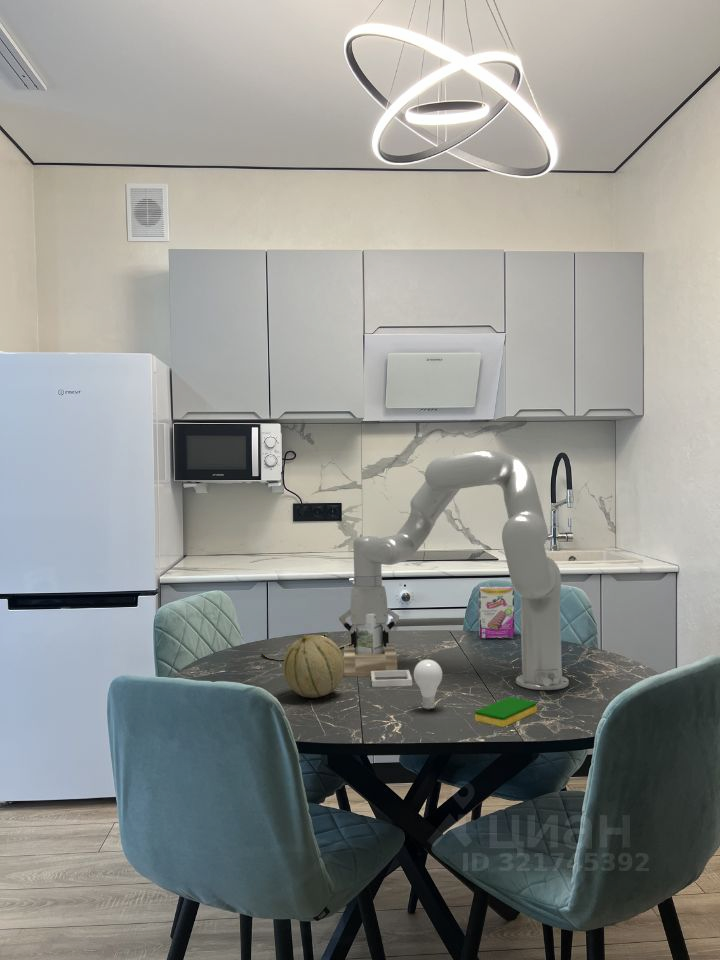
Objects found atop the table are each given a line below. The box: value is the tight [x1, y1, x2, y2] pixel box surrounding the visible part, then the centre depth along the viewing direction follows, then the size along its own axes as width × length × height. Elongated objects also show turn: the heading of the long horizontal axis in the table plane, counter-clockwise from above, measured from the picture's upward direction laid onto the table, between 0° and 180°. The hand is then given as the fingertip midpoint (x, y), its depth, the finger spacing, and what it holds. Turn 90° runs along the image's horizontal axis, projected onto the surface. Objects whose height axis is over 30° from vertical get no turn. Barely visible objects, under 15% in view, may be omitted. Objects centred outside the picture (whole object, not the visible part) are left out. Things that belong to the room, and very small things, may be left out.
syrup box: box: [355, 613, 384, 655], centre depth 203 cm, size 6×6×14 cm
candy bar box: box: [478, 586, 515, 639], centre depth 239 cm, size 11×5×16 cm, turn 84°
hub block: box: [343, 644, 398, 677], centre depth 203 cm, size 14×14×5 cm
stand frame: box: [370, 669, 413, 688], centre depth 190 cm, size 10×10×2 cm
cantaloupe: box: [282, 634, 345, 699], centre depth 177 cm, size 15×15×15 cm
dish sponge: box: [474, 696, 538, 728], centre depth 159 cm, size 7×14×2 cm, turn 137°
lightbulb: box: [413, 659, 443, 711], centre depth 165 cm, size 6×6×11 cm
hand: (369, 646), depth 203 cm, fingers closed on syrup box, 7 cm apart
